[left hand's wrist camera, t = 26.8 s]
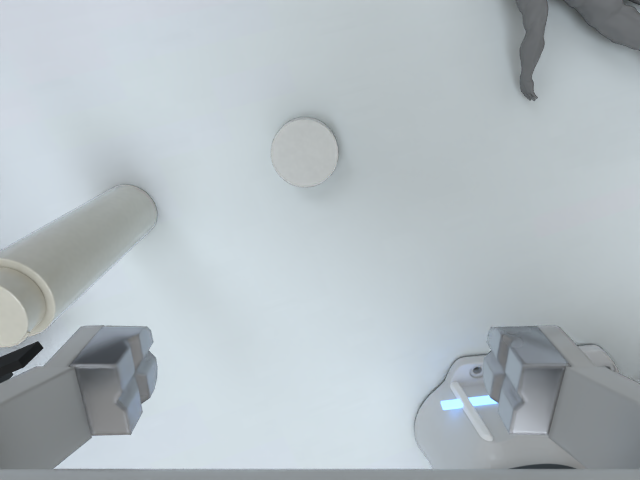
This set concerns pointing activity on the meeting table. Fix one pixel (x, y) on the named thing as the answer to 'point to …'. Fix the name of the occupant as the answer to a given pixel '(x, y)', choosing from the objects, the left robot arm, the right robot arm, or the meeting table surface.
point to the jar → (68, 259)
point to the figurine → (598, 11)
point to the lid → (304, 152)
